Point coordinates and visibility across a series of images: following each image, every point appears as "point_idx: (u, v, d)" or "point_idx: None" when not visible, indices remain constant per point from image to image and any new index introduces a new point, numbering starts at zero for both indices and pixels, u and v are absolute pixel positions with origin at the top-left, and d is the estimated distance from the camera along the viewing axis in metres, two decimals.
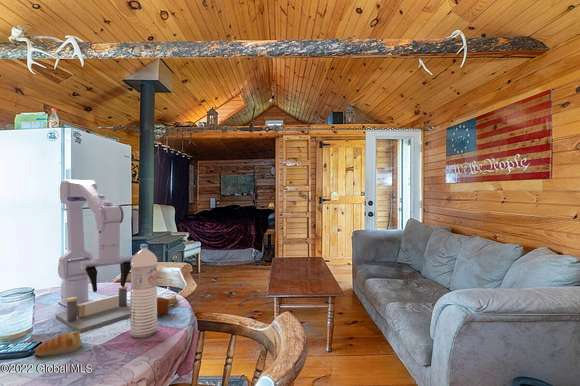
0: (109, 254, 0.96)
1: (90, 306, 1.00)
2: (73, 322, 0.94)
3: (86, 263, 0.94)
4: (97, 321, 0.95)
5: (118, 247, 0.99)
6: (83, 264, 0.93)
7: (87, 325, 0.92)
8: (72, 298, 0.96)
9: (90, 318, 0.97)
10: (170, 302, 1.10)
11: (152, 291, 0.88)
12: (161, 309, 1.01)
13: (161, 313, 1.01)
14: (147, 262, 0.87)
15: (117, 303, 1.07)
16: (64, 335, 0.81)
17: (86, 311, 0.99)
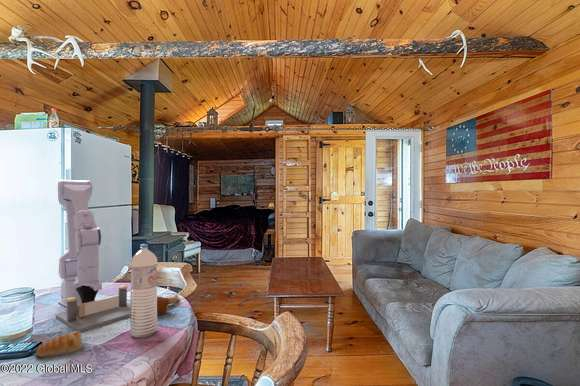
0: (77, 275, 1.00)
1: (90, 306, 1.00)
2: (73, 322, 0.94)
3: (76, 278, 1.04)
4: (97, 321, 0.95)
5: (84, 271, 0.99)
6: (75, 278, 1.05)
7: (87, 325, 0.92)
8: (72, 298, 0.96)
9: (90, 318, 0.97)
10: (170, 301, 1.11)
11: (152, 291, 0.88)
12: (159, 308, 1.02)
13: (159, 313, 1.02)
14: (147, 262, 0.87)
15: (117, 303, 1.07)
16: (65, 336, 0.80)
17: (86, 311, 0.99)
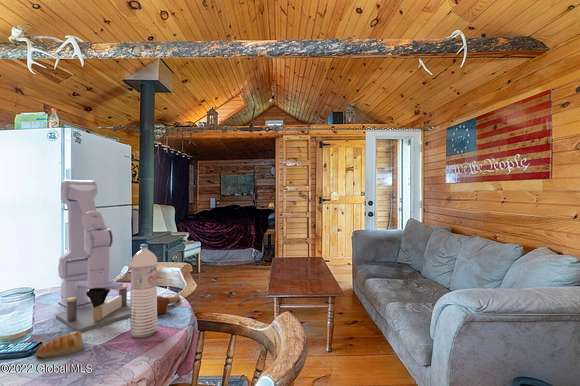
0: (90, 279, 0.96)
1: (105, 308, 0.98)
2: (73, 322, 0.94)
3: (77, 284, 0.98)
4: (97, 321, 0.95)
5: (101, 272, 0.97)
6: (75, 284, 0.98)
7: (87, 325, 0.92)
8: (72, 298, 0.96)
9: (90, 318, 0.97)
10: (171, 301, 1.11)
11: (152, 291, 0.88)
12: (159, 308, 1.02)
13: (159, 312, 1.02)
14: (147, 262, 0.87)
15: (120, 303, 1.06)
16: (65, 336, 0.80)
17: (102, 313, 0.97)
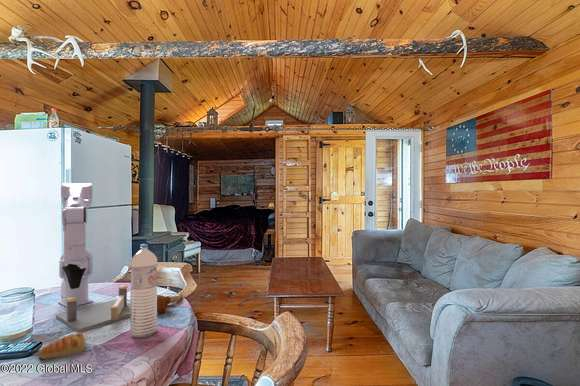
0: None
1: (118, 308, 0.99)
2: (73, 322, 0.94)
3: (63, 258, 1.03)
4: (97, 321, 0.95)
5: (71, 249, 0.98)
6: (62, 258, 1.04)
7: (87, 325, 0.92)
8: (72, 298, 0.96)
9: (90, 318, 0.97)
10: (172, 300, 1.12)
11: (152, 291, 0.88)
12: (158, 307, 1.03)
13: (158, 311, 1.03)
14: (147, 262, 0.87)
15: (123, 303, 1.07)
16: (68, 337, 0.80)
17: None
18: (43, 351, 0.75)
